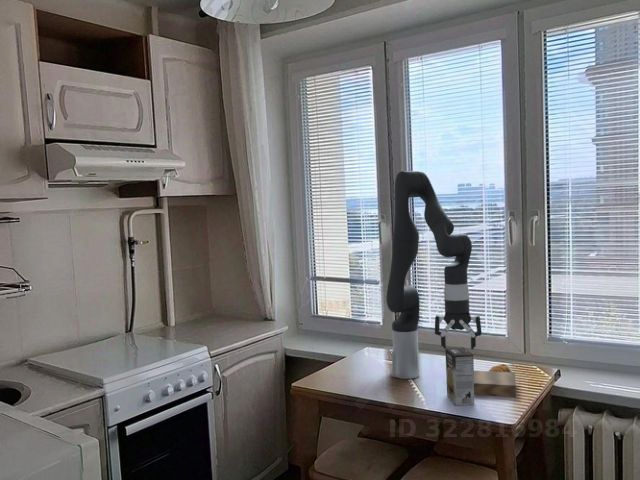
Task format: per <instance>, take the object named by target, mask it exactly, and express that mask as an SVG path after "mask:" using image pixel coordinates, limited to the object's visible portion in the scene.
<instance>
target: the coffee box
mask: <svg viewBox="0 0 640 480" xmlns="http://www.w3.org/2000/svg"><path fill="white" fill-rule="evenodd" d="M444 349H445V350H444V351H445V372H446V397H447V398H448V399H449V400H450V401H451V402H452V403H453V404H454V406H455V407H458V406H460V407H461V406H473V405H474V406H475V395H474V371H475V370H474V367H475V365H474V364H475V363H474V361H475V360H474V354H473V353H472V352H470V350H469V349H467V348H465V347H446V348H444Z"/></svg>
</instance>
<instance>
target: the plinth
mask: <svg viewBox="0 0 640 480" xmlns="http://www.w3.org/2000/svg"><path fill="white" fill-rule="evenodd" d="M474 396H477V397H478V396H481V397H494V398H495V397H496V398H497V397H498V398H511V399H512V398H513V399H514V398H515V399H516V398H517V382H516V372H513V371H511V372H492V371H489V370H488V371H487V370H474Z"/></svg>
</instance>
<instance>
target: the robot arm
mask: <svg viewBox="0 0 640 480" xmlns="http://www.w3.org/2000/svg"><path fill="white" fill-rule="evenodd" d="M410 198H420V199H421V200H422V201H423V203H424V205H425V207H424V212H423V215H424V221H425V222H426V225H427V227H428V228H429V230H430V231H431V232H432V234H433V238H434V241H435V244H436V249H437V252H438V253H439V254H440V256H442V257H444V258H454V260H453V261H454V262H452V263H450V264H447V265H446V266H445V267H444V268H443V271H444V273H443V275H444V288H443V289H444V290H443V293H444V295H443V297H444V315H440V314H437V315H436V316H435V317H434V335H436V336H439V337H440V345H441V347H443V349H445V348H447V336H446V334H447V333H448V332H449V331H450V330H453V331H457V330H459V331H463V330H465V331H466V332H467V333H468V334H469V336H470V349H471V350H475V348H476V346H477V343H476V342H477V340H476V337H478V336H479V337H480V336H482V323H481V315H479V314H477V315H476V316H475V315H471V314H470V313H471V312H470V293H469V291H470V290H469V285H468V266H469V262H470V258H471V254H472V250H473V249H472V248H473V246H472V245H473V244H472V240H471V238H470V237H469V235H467V234H465V233H459V234H453V233H454V231H455V226H454V223H453V221H452V220H451V219H450V218H449V216H448V214H447V213H446V212H445V210H444V208H443V207H442V205H441V203H440V201H439V199H438V196H437V193H436V191H435V189H434V187H433V184H432V183H431V180H430V178H429V177H428V175H427V174H426V172H424V171H419V170H417V171H416V170H403V171H399V172H398V173H397V174H396V177H395V181H394V221H393V222H394V224H393V226H394V227H393V234H392V247H391V249H392V251H391V262H390V271H389V277H388V283H387V290H386V297H385V298H386V307H387V308H388V309H389V311H390V312H392V313H394V314H395V313H397V314H399V313H400V314H399V316H398V317H397V318H395V319H394V320H393V321H392V323H391V330H392V332H391V333H392V334H391V335H392V351H391V366H392V367H391V369H392V377H393V378H398V379H402V380H409V379H410V380H411V379H416V378H418V377H419V376H420V367H419V365H420V364H419V337H418V336H419V335H418V330H419V329H418V326H419V322H420V294H419V293H418V290H417V288H416V287H415V286H413V285H405V282H406V277H407V274H408V273H409V270H410V269H411V267H412V265H413V264H414V261H415V260H416V258H417V256H418V252H419V243H420V234H419V230H418V228H417V226H416V224H415V222H414V220H413V218H412V216H411V212H410V205H409V203H410V202H409V201H410ZM443 320H444V322H445V324H446V326H445V327H444V329H443V330H440V324H441V323H442V322H443ZM471 321H473V323H474V324H475V325H476V331H474V330H473V328H472V327H471V325H470V322H471Z"/></svg>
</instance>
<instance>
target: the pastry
mask: <svg viewBox="0 0 640 480" xmlns="http://www.w3.org/2000/svg"><path fill="white" fill-rule="evenodd" d="M488 371H492V372H512V370H511V368H510V367H509V365H507V364H505V363H502V364H500V363H499V364H497V365H494V366H492V367H491V368H490V369H489V370H488Z"/></svg>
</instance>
